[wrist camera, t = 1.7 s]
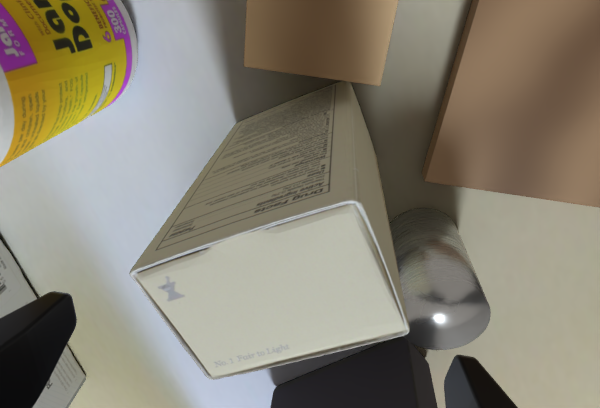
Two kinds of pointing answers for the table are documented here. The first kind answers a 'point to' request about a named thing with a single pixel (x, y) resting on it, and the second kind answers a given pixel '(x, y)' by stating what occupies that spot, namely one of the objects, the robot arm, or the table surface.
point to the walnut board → (523, 102)
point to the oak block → (320, 37)
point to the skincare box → (280, 243)
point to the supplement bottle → (59, 66)
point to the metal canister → (437, 281)
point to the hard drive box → (67, 374)
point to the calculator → (364, 381)
